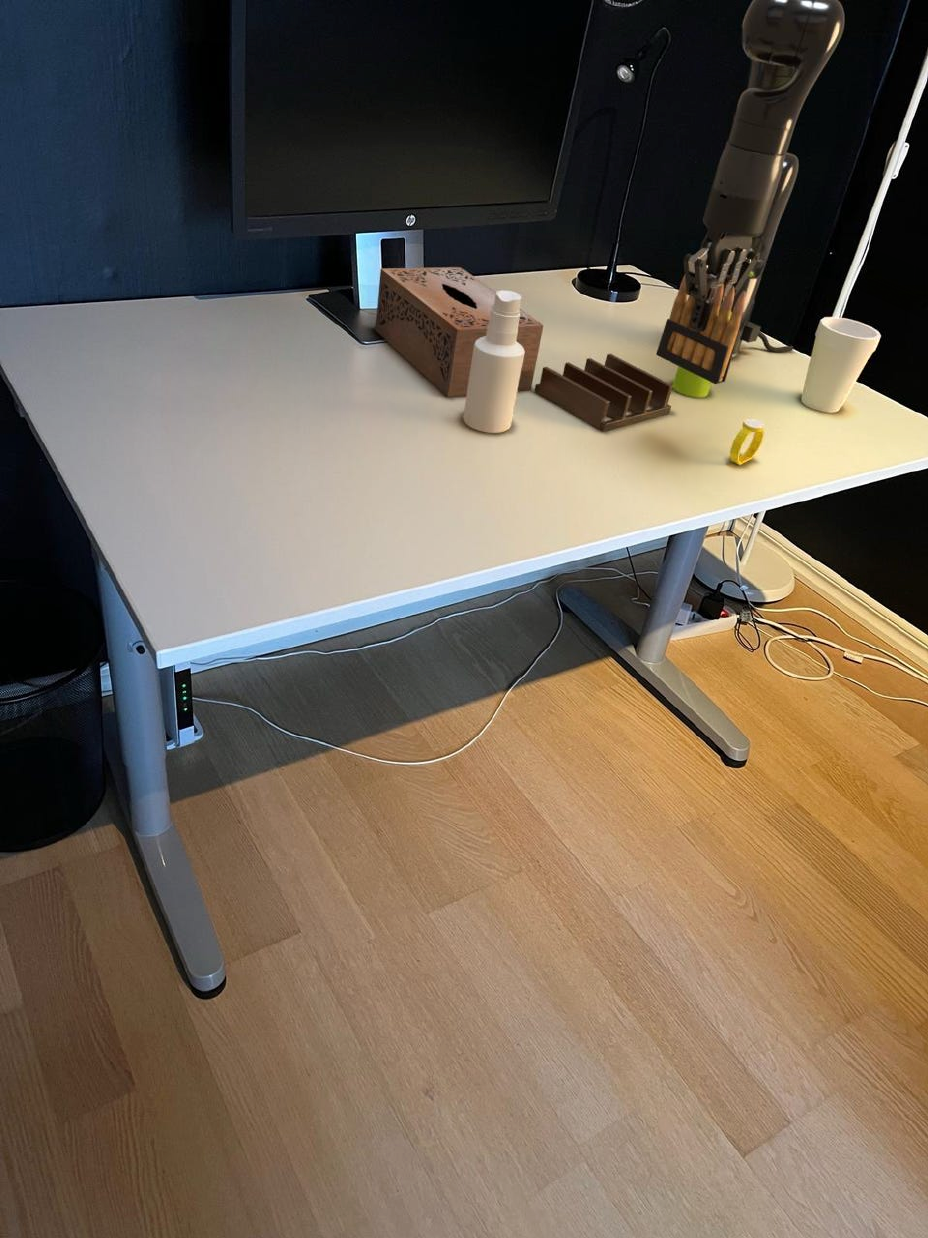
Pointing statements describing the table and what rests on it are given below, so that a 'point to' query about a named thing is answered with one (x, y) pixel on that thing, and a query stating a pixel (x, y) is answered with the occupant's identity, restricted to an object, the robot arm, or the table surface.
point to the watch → (747, 429)
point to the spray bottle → (496, 368)
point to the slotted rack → (606, 392)
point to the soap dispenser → (692, 380)
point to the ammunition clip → (702, 335)
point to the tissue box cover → (444, 323)
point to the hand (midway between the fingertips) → (701, 328)
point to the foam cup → (837, 361)
